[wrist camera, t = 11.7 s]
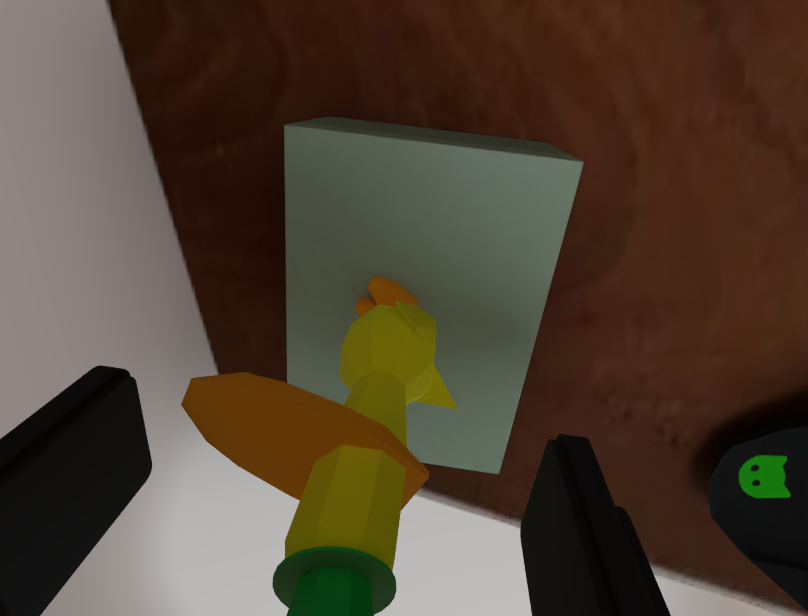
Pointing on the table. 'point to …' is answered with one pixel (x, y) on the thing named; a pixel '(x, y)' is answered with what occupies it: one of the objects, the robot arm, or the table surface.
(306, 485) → the toy figure
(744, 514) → the computer mouse
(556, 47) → the table surface
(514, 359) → the green box
